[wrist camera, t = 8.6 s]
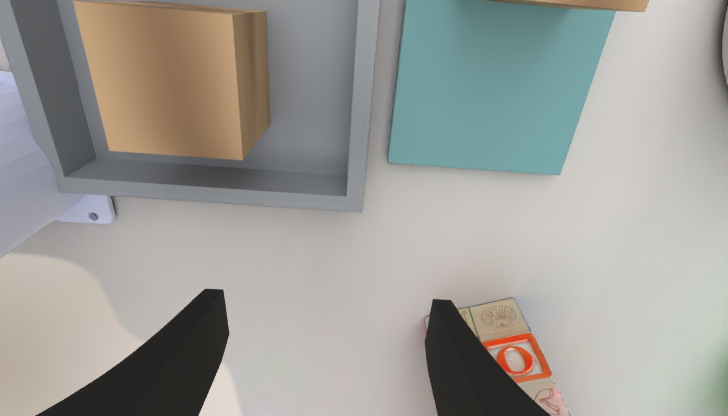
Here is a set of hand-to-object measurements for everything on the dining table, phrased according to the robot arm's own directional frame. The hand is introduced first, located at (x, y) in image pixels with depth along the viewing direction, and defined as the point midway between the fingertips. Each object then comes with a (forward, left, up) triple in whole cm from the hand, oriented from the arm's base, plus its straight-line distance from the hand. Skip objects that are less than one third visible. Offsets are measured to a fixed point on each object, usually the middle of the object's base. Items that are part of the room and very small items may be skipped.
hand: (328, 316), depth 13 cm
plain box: (-6, +6, -9) cm, 13 cm away
